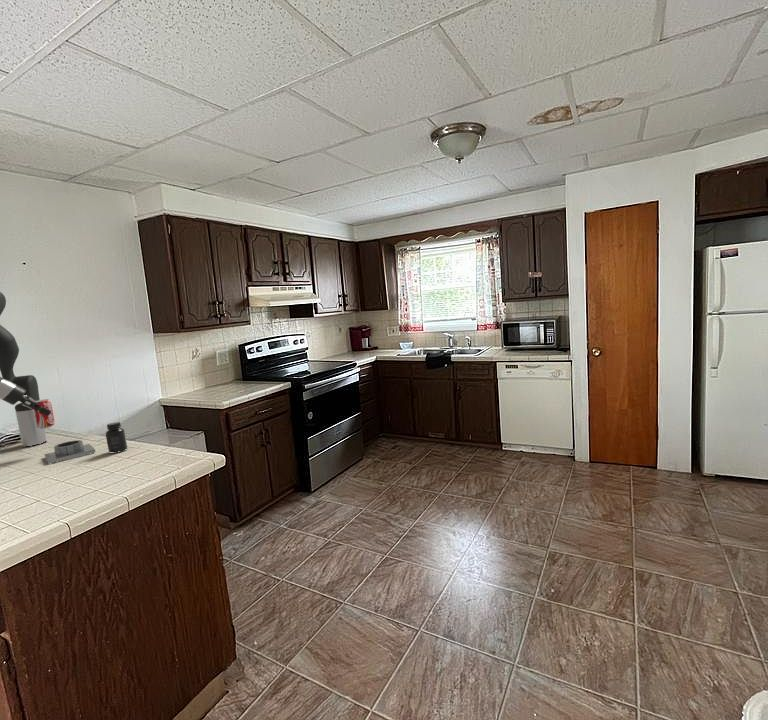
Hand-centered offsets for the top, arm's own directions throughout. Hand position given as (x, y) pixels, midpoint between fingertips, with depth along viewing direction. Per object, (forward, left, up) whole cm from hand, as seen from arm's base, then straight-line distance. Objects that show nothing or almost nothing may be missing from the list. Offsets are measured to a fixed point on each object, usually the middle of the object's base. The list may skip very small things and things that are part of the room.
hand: (48, 412), depth 189 cm
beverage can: (0, -2, -6) cm, 7 cm away
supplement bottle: (+29, +18, -18) cm, 39 cm away
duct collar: (+15, +3, -17) cm, 23 cm away
